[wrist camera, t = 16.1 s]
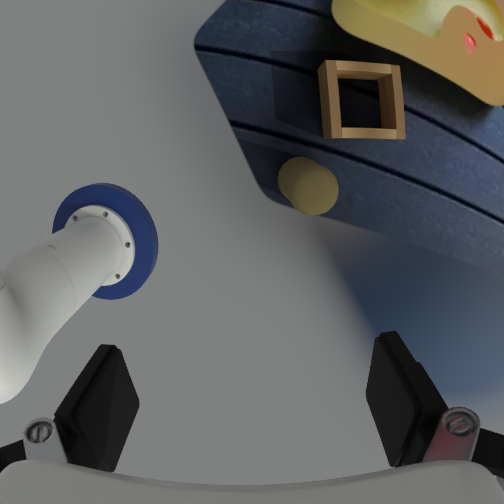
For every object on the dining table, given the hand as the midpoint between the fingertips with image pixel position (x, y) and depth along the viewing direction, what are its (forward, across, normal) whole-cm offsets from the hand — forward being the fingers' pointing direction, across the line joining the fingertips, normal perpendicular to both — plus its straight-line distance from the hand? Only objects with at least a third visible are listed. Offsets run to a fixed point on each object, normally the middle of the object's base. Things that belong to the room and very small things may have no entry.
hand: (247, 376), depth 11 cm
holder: (+32, -14, -13) cm, 38 cm away
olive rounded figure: (+32, -6, -3) cm, 33 cm away
